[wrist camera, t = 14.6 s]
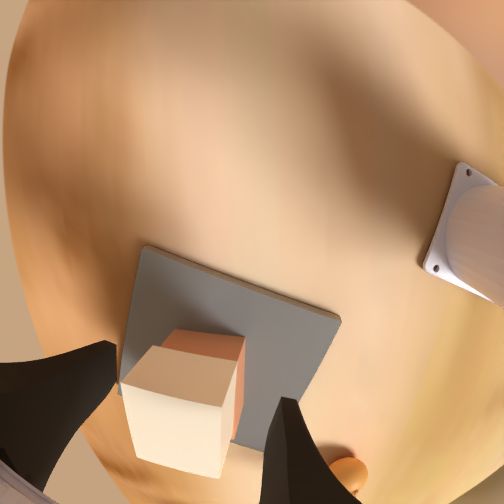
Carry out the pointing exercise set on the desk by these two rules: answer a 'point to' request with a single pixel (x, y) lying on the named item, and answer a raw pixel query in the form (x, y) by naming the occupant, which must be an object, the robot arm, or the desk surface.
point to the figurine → (350, 473)
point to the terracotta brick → (215, 348)
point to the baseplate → (230, 331)
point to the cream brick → (181, 409)
